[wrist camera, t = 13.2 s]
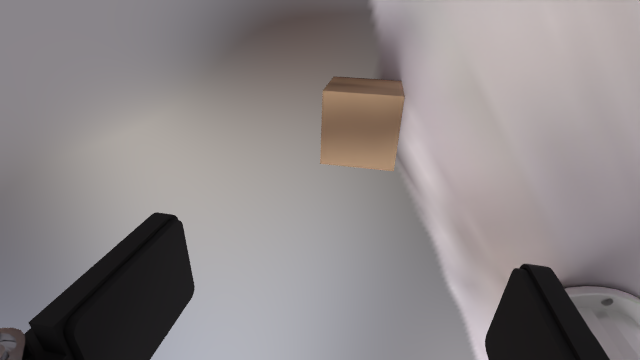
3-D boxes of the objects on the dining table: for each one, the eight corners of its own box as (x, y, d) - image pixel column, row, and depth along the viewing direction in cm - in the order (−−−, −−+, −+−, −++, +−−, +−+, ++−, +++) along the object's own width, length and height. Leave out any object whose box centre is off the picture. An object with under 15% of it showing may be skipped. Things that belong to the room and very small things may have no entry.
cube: (392, 144, 27) (393, 171, 22) (330, 138, 27) (320, 163, 23) (401, 80, 24) (404, 96, 20) (333, 76, 25) (322, 90, 21)
